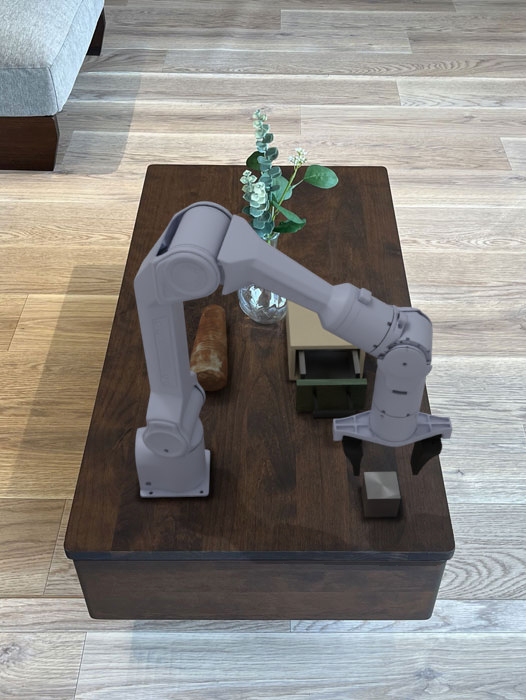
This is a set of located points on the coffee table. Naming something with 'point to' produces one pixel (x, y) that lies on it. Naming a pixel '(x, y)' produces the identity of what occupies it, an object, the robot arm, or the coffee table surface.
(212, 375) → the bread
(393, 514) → the block
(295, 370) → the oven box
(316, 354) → the drawer
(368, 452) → the coffee table surface
